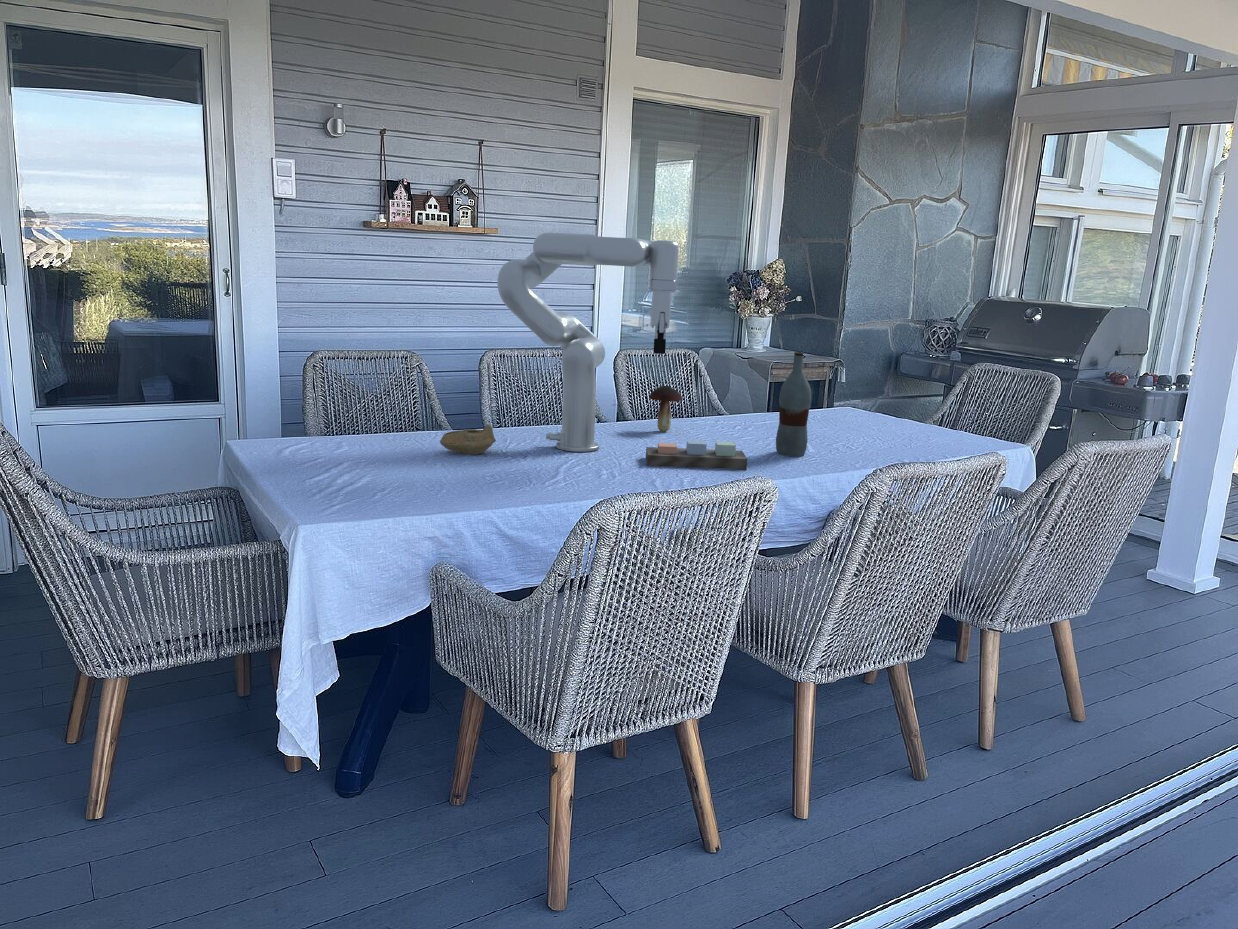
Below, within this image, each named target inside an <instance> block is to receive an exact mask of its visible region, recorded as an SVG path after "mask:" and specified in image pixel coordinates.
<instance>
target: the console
mask: <svg viewBox="0 0 1238 929" xmlns="http://www.w3.org/2000/svg"><path fill="white" fill-rule="evenodd" d="M645 449H646V450H645V460H646V466H647V467H666V468H667V467H668V468H670V467H671V468H688V469H689V468H692V469H694V468H695V469H717V470H718V469H719V470H740V471H741V470H742V471H744V470H745V471H747V470H748V457H747V456H746V454H745V453H744V451H743V450H736V451H735V456H716V455H715V449H709V448H708V449H707V448H706V455H687V454H686V447H685V448H684V447H683V448H680V447H677V454H660V453H657V450H658V446H656V447H653V446H646V448H645Z"/></svg>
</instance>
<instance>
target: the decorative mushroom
mask: <svg viewBox="0 0 1238 929" xmlns="http://www.w3.org/2000/svg"><path fill="white" fill-rule="evenodd" d="M682 396H683V395H681V393H680V392H679V391H677V390H676V389H675V388H673V387H671V386H669V385H661V386H659V387H657V388H655V389H654V390H653V391H652V392H650V394H649V396H648V399H650V400H654V401H660V403H659V407H658V414H657V422H656V423H657V429H658V430H659V432H663V433H665V432H668V431H669V430H670V429H671V416H672V415H671V414H672V413H671V406H670V402H680V401H681V402H682V401H683V399H684V398H683V397H682Z"/></svg>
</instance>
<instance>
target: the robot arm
mask: <svg viewBox="0 0 1238 929" xmlns="http://www.w3.org/2000/svg"><path fill="white" fill-rule="evenodd" d="M532 251H533V252H531V253H530V254H529V255H528V256H527V257H525V259H522V258H521V259H520V258H518V259H517V258H515V259H511V260H509V261H507V262H505V263H504V264H503V265H502V266H501V268H500V270H499V271H498V274H497V291H498V293H499V297H500V298H501V300H502V302H503V304H504V305H505V306H506V307H507V309H509V311H511V313H513V314H514V315H515V316H516V318H518V319H519V320H520V321H521V322H522V323H523V324H524V325H525V326H526V327H527V328H528V329H529V330H530V331H532V333H534V335H536V337H538V338H539V339H540V340H541V341H542V342H543V343H544V344H546V346H550V347H560V348H561V349H562V350H563V351H562V353H561V370H562V372H561V373H562V405H561V406H562V409H561V416H562V417H561V430H560V431H559V432H556V433H553V432H546V433H545V435H546V437H545V440H548V441H557V442H556V443H555V447H556V449H559V450H562V451H566V452H574V453H575V452H579V453H582V452H584V453H585V452H595V451H598V450H599V449H600V444H599V443H598V442H596V441H595V426H596V400H597V379H596V368H598V367H599V366H601V364H602V363H603V362H604V360H605V358H606V349H605V346H604V344H603V343H602V341H601V340H600V339H599V338H598V336H596V335H595V334H594V333H593V332H592V331H591V330H589V328H587V327H586V326H585V325H584V324H583V323H582V322H581V321H580V320H579V319H577V318H576V317H575V316H574V315H572V314H571V313H569V312H565V311H556V310H554V309H553V308H552V307H550V305H548V304H547V303H546V302H545V301H544V300H543V299H542V298H541V297H540V296H539V295H537V294H535V293H534V292H533V291H532V290H531V289H534V288H536V287H537V286H540V285H541V284H542V283H543V282H544V281H545V280H546V279H547V278H549V277H550V276H551V275H552V274H553V273H554V272H555V271H557V270H558V269H559V268H560V267H561V266H562V265H574V266H587V267H588V266H590V267H592V266H616V267H628V268H629V267H630V268H631V267H633V268H634V267H637V268H639V267H648V266H649V283H648V292H651V294H652V295H651V304H650V307H651V308H650V324H649V326H650V328H652V329H654V328H655V329H654V339H653V353H654V355H655V354H656V355H657V354H659V355H665V354H666V346H667V345H666V344H667V340H666V335H667V334H666V333H667V332H666V331H667V330H668V328H669V327H670V320H671V310H672V299H673V298H672V297H673V296H672V295H673V293H674V294H675V293H676V294H677V286H678V284H677V283H678V282H677V281H678V267H679V266H678V265H679V244H678V243H677V242H676V241H673V240H659V239H658V240H648V239H643V238H638V237H637V238H636V237H616V236H615V237H612V236H611V237H610V236H601V235H600V236H598V235H594V234H588V233H569V232H568V233H567V232H563V233H562V232H544V233H543V232H542V233H540V234H539V235H538V236H536V238H534V241H533V244H532Z"/></svg>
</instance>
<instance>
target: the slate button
mask: <svg viewBox="0 0 1238 929" xmlns="http://www.w3.org/2000/svg"><path fill="white" fill-rule="evenodd" d="M685 449H686V454H687V455H706V449H707V443H706V441H705V440H698V439H697V440H696V439H695V440H692V439H687V440H686V446H685Z"/></svg>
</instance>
